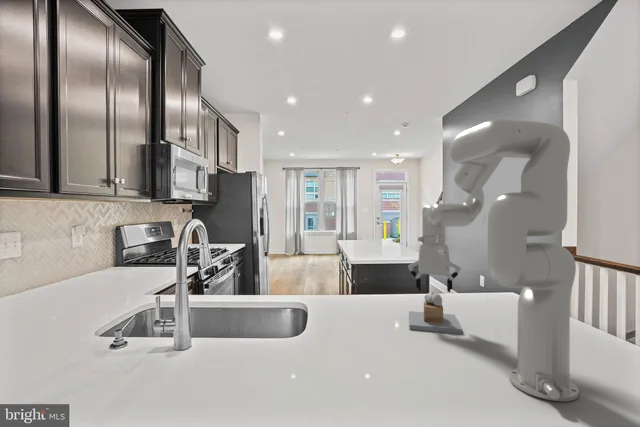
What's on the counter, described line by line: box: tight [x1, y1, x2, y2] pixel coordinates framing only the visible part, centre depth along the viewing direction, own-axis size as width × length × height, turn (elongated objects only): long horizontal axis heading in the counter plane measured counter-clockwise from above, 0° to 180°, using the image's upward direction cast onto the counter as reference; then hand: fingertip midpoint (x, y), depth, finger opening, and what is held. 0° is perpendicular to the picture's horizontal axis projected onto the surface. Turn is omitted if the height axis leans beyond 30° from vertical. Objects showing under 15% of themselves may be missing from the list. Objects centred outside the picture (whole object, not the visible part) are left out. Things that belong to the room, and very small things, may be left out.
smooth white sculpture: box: [424, 291, 443, 307], centre depth 116 cm, size 4×8×5 cm
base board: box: [408, 310, 463, 335], centre depth 115 cm, size 16×16×2 cm
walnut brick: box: [423, 301, 444, 323], centre depth 115 cm, size 7×6×5 cm
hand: (433, 290), depth 115 cm, fingers open, 9 cm apart
